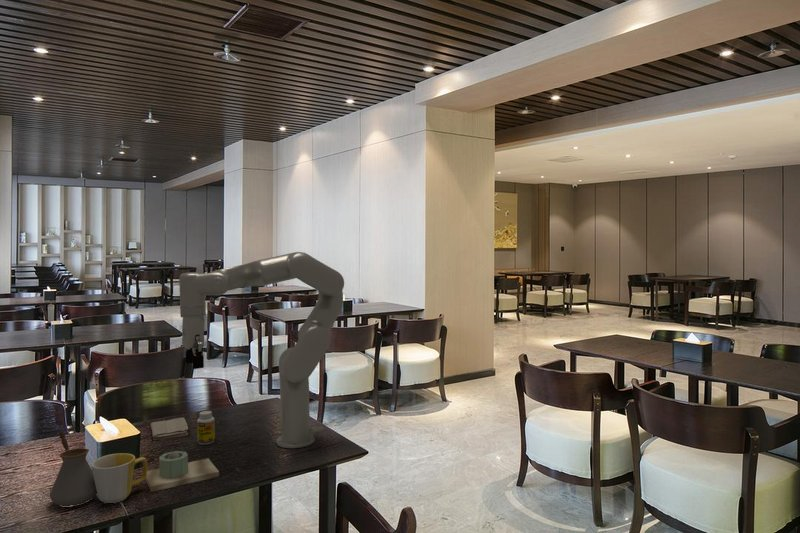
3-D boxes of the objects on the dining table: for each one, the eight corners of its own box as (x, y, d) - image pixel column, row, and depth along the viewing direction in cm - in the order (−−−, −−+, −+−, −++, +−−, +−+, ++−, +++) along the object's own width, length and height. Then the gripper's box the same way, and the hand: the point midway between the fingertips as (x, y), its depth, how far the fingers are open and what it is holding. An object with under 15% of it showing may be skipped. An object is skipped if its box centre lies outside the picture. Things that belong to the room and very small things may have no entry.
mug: (97, 512, 142) (96, 471, 141) (88, 498, 150) (87, 459, 149) (154, 496, 151) (153, 457, 150) (143, 483, 158) (142, 446, 158)
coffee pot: (106, 501, 148) (103, 444, 147) (55, 515, 140) (52, 456, 140) (85, 476, 164) (83, 425, 163) (38, 488, 156) (36, 435, 156)
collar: (184, 466, 167) (183, 449, 166) (190, 474, 161) (189, 457, 160) (158, 471, 163) (157, 454, 163) (162, 480, 157) (162, 462, 157)
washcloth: (153, 443, 192) (152, 434, 192) (149, 428, 208) (149, 420, 208) (190, 437, 198) (189, 428, 198) (183, 423, 214) (183, 415, 214)
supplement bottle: (195, 445, 188) (195, 415, 187) (199, 440, 193) (198, 410, 193) (213, 444, 189) (212, 414, 188) (216, 439, 194) (215, 409, 194)
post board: (208, 463, 173) (207, 438, 172) (218, 476, 163) (218, 450, 162) (144, 476, 163) (143, 451, 163) (151, 492, 153) (150, 464, 153)
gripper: (175, 310, 184) (176, 362, 185) (186, 315, 169) (188, 372, 170) (198, 308, 188) (200, 359, 189) (212, 313, 173) (213, 369, 174)
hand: (194, 365), depth 179 cm, fingers open, 9 cm apart
